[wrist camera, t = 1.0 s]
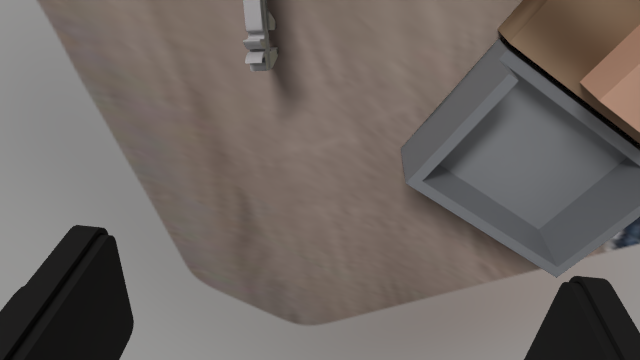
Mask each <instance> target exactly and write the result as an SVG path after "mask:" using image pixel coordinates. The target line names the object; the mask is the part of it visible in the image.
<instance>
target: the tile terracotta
mask: <svg viewBox="0 0 640 360" xmlns="http://www.w3.org/2000/svg"><path fill="white" fill-rule="evenodd" d="M580 83H581V84H582V85H583V86H584V87H585V88H586V89H587V90H588V91H589V92H590V93H592V94H593V95H594V96H595V97H596V98H597V99H598V100H599V101H600V102H601V103H603V104H604V105H605V106H606V107H608V108H609V109H610V110H612V111H613V112H614V113H615V114H617V115H618V116H619V117H621V118H622V119H623V120H624V121H626V122H627V123H628V124H629V125H631V126H632V127H633V128H635V129H636V130H637V131H638V132H640V25H639V26H638V27H637V28H636V29H634V30H633V31H632V32H631V33H630V34H629V35H628V36H627V37H626V38H625V39H624V40H623V41H622V42H621V43H620V44H619V45H618V46H617V47H616V48H615V49H614V50H613V51H611V52H610V53H609V54H608V55H607V56H606V57H605V58H604V59H603V60H602V61H601V62H600V63H599V64H598V65H597V66H596V67H595V68H594V69H593V70H592V71H591V72H590V73H589V74H587V75H586V76H585V77H584V78H583V79H582V80H581V81H580Z"/></svg>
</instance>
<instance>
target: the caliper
mask: <svg viewBox="0 0 640 360" xmlns="http://www.w3.org/2000/svg"><path fill="white" fill-rule="evenodd" d="M243 4H244V14H245V24H246V31H247V32H248V36H249V37H248V40H243V43H244V45H245V47H246V48H247V49H250V52H248V53H247V56H246V60H245V63H250V69H251V71H267V70H270V69H272V68H273V66H274V64H275V61H276V59H277V57H278V47H270V46H269V33H268V30H275V29H276V23H275V20H274V18H273V16H272V15H271V13H270V12H269V10H268V8H267V0H243Z"/></svg>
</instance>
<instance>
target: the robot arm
mask: <svg viewBox="0 0 640 360" xmlns="http://www.w3.org/2000/svg"><path fill="white" fill-rule="evenodd" d="M133 323H134V321H133V315H132V311H131V307H130V302H129V298H128V293H127V289H126V285H125V280H124V276H123V271H122V267H121V262H120V258H119V254H118V249H117V244H116V240H115V238H114V237H113V236H110V235H108V232H107V230H106V229H105V228H100V227H91V226H80V225H76V226H73V227H72V228H71V229H70V230H69V231H68V233H67V234H66V235H65V236H64V238H63V239H62V240H61V241H60V243H59V244H58V245H57V246H56V248H55V249H54V250H53V251H52V253H51V254H50V255H49V256H48V258H47V259H46V260H45V261H44V263H43V264H42V265H41V266H40V268H39V269H38V270H37V272H36V273H35V274H34V275H33V276H32V277H31V279H30V280H29V281H28V282H27V284H26V285H25V286H23V287H21V288H20V289H19V290H18V291H17V292H16V293H15V294H14V295H13V297H12V298H11V299H10V300H9V302H8V303H7V304H6V305H5V306H4V308H3V309H2V310H1V311H0V360H119V359H120V357H121V355H122V353H123V351H124V349H125V347H126V345H127V343H128V341H129V339H130V336H131V334H132V330H133ZM524 360H640V333H639V331H638V329H637V328H636V326H635V324H634V323H633V321H632V319H631V318H630V316H629V314H628V313H627V311H626V309H625V307H624V306H623V304H622V302H621V301H620V299H619V297H618V296H617V294H616V292H615V290H614V289H613V287H612V286H611V284H610V283H609V282H608V281H607V280H605V279H601V278H591V277H581V276H574V277H573V278H571V279H570V281H569V282H564V283H562V285H561V286H560V288H559V290H558V292H557V294H556V296H555V298H554V300H553V302H552V304H551V306H550V309H549V310H548V313H547V315H546V317H545V319H544V321H543V323H542V325H541V327H540V329H539V331H538V333H537V335H536V337H535V339H534V341H533V343H532V345H531V347H530V349H529V351H528V353H527V355H526V357H525V359H524Z"/></svg>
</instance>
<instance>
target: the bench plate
mask: <svg viewBox="0 0 640 360" xmlns="http://www.w3.org/2000/svg"><path fill="white" fill-rule="evenodd" d="M639 25H640V0H523V1H522V2H521V3H520V4H519V6H518V7H517V8H516V9H515V10H514V11H513V12H512V14H511V15H510V16H509V17H508V18H507V19H506V20H505V22H504V23H503V24H502V25H501V26H500V27H499V28H498V31H499V32H500V33H501V34H502V35H503V36H504V37H505V39H506V40H507V41H508V42H509V43H510V44H511V45H513V46H514V47H515V48H517V49H518V50H519V51H520V52H522V53H523V54H524V55H526V56H527V57H528V58H530V59H531V60H532V61H533V62H535V63H536V64H537V65H539V66H540V67H541V68H542V69H544V70H545V71H546V72H548V73H549V74H550V75H552V76H553V77H554V78H555V79H557V80H558V81H559V82H561V83H562V84H563V85H564V86H566V87H567V88H568V89H570V90H571V91H572V92H573V93H575V94H576V95H577V96H579V97H580V98H581V99H583V100H584V101H585V102H586V103H588V104H589V105H590V106H592V107H593V108H594V109H595V110H597V111H598V112H599V113H601V114H602V115H603V116H605V117H606V118H607V119H608V120H610V121H611V122H612V123H614V124H615V125H616V126H617V127H619V128H620V129H621V130H623V131H624V132H625V133H627V134H628V135H629V136H630V137H632V138H633V139H634V140H636V141H637V142H638V143H639V144H640V132H638V131H637V130H636V129H635V128H633V127H632V126H631V125H629V124H628V123H627V122H626V121H624V120H623V119H622V118H621V117H619V116H618V115H617V114H615V113H614V112H613V111H612V110H610V109H609V108H608V107H606V106H605V105H604V104H603V103H601V102H600V101H599V100H598V99H597V98H596V97H595V96H594V95H593V94H592V93H590V92H589V91H588V90H587V89H586V88H585V87H584V86H583V85H582V84H581V83H580V81H581V80H582V79H583V78H584V77H585V76H586V75H587V74H589V73H590V72H591V71H592V70H593V69H594V68H595V67H596V66H597V65H598V64H599V63H600V62H601V61H602V60H603V59H604V58H605V57H606V56H607V55H608V54H609V53H610V52H611V51H613V50H614V49H615V48H616V47H617V46H618V45H619V44H620V43H621V42H622V41H623V40H624V39H625V38H626V37H627V36H628V35H629V34H630V33H631V32H632V31H633V30H634V29H636V28H637V27H638V26H639Z"/></svg>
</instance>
